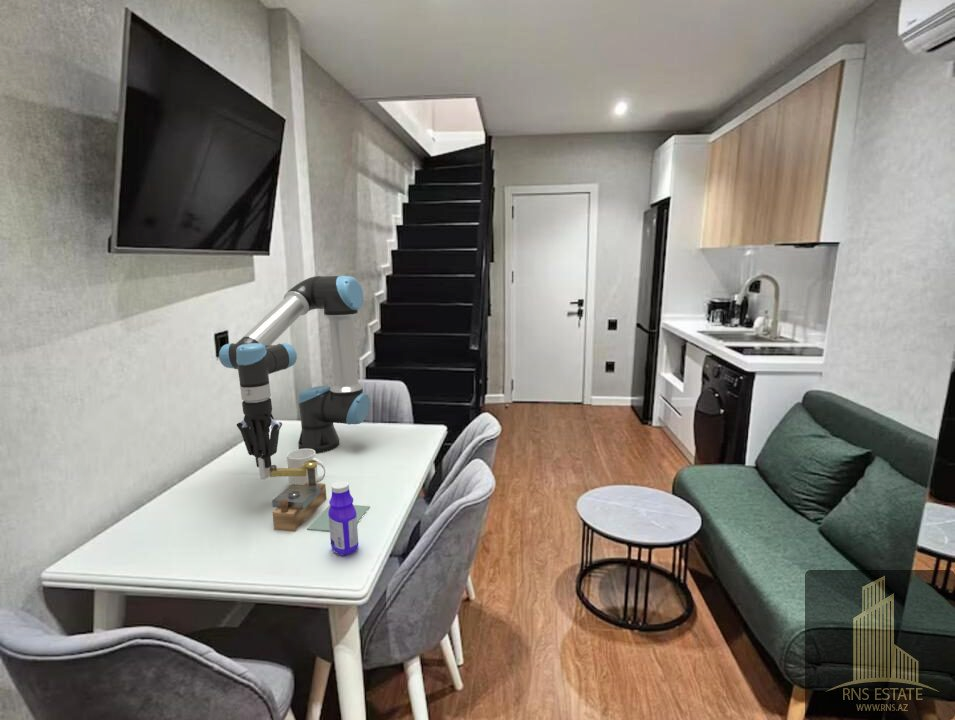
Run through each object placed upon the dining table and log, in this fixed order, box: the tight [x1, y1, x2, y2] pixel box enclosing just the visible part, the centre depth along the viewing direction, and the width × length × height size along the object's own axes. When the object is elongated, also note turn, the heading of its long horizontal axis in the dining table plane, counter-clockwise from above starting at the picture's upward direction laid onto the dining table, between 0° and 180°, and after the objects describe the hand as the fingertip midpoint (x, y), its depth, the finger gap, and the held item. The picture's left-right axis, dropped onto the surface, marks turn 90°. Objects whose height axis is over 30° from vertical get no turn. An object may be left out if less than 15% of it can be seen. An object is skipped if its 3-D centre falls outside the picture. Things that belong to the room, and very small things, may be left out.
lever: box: [269, 460, 318, 478], centre depth 146 cm, size 14×4×4 cm, turn 90°
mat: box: [307, 504, 371, 533], centre depth 139 cm, size 14×12×1 cm
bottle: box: [328, 480, 359, 556], centre depth 122 cm, size 7×6×17 cm
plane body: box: [272, 468, 327, 532], centre depth 141 cm, size 18×6×11 cm, turn 170°
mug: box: [286, 448, 326, 486], centre depth 158 cm, size 9×12×11 cm
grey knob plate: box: [271, 484, 321, 510], centre depth 139 cm, size 10×9×3 cm
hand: (265, 477), depth 145 cm, fingers closed
